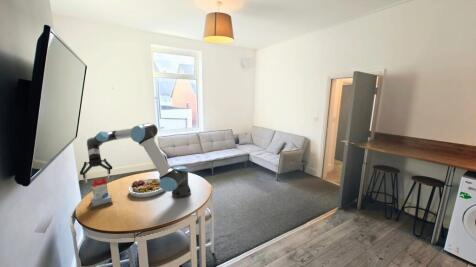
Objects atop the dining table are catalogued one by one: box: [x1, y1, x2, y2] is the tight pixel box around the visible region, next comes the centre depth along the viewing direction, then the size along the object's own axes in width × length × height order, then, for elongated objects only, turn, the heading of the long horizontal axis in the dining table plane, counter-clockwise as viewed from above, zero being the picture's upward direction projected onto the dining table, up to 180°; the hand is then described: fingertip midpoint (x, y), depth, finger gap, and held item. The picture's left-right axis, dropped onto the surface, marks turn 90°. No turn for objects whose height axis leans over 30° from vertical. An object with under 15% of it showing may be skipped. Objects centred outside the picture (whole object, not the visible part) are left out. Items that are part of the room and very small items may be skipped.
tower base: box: [90, 194, 114, 211], centre depth 153 cm, size 13×13×3 cm
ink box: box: [91, 177, 109, 200], centre depth 151 cm, size 8×5×15 cm, turn 138°
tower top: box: [90, 193, 112, 206], centre depth 152 cm, size 11×11×3 cm
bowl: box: [128, 177, 165, 198], centre depth 174 cm, size 30×30×8 cm
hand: (98, 180), depth 149 cm, fingers open, 13 cm apart
